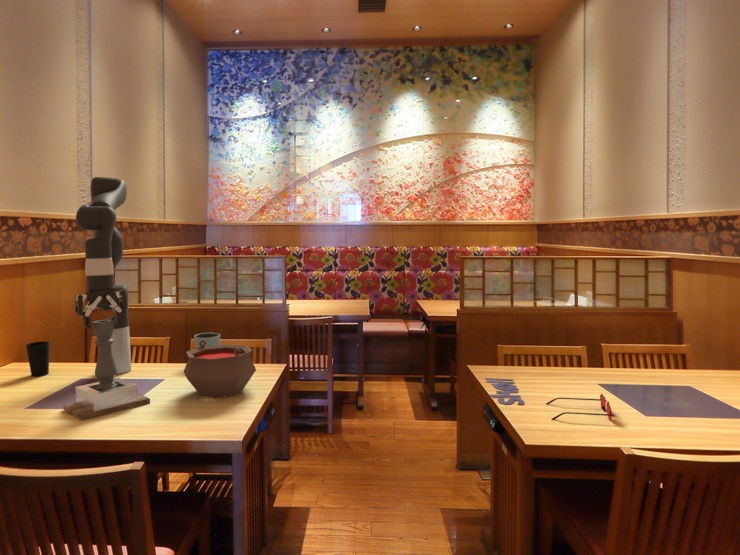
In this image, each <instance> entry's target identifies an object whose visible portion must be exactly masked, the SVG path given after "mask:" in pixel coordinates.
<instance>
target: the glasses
mask: <svg viewBox="0 0 740 555" xmlns="http://www.w3.org/2000/svg"><path fill="white" fill-rule="evenodd" d="M606 398H607V397H606V396H604V394H603V393H601V394H600V396H599V398H579V397H578V398H577V397H576V398H575V397H557V398H554V399H552V400H549V401H548V402H546V403H545V405H550V404H551V403H553V402H555V401H557V400H578V401H579V400H580V401H595V402H596V401H598V402H600V408H601V410H602V411H603V412H604V413H592V412H591V413H589V412H572V411H571V412H570V411H567V412H562V413H559V414H557V415H556V416H554V417H552V418H551V421H555V420H556V419H557V418H559V417H561V416H563V415H565V414H569V415H570V414H571V415H585V416H586V415H588V416H606V417H607V419H608V420H609V421H611V420H612V419H613V418H614V417H616V414H615V413H613V411H612V408H611V404H610V401H607V399H606ZM605 412H607V413H605Z"/></svg>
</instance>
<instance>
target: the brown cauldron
mask: <svg viewBox="0 0 740 555" xmlns="http://www.w3.org/2000/svg"><path fill="white" fill-rule="evenodd" d="M202 342H203V343H204V344H203V345H202V344H201V343H202ZM205 344H206V342H205V341H204V340H203V339H202V340H201V342H200V343H199V345H200V346H201V347H200V348H197V349H196V348H194V349H191V350H187V351H185V353H186V355H187V356H188V359H187V361H186V364H185V366H184V369H183V373H184V376H185V378H186V380H187V381H188V382H189V384H191V386H192V387H193V388H194V389H195V391H196V392H197V394H199V396H200V397H202V396H204V398H211V397H213V399H218V398H217V397H219V398H225V397H224V396H227V397H232V396H231V395H233V396H235V395H237V394H239V393H241V392H243V391H244V389H245V387H246V386H247V384H248V383H249V381H250V380H251V379H252V377H253V375H254V374H255V372H256V371H257V369H256V366H255V364H254V362H253V359H251V356H250V355H251V353H252V352H253V349H252V348H250V347H249V346H248V345H243V344H242V345H240V344H229V343H228V344H227V343H225V344H220V345H214V346H205ZM242 390H243V391H242ZM240 391H241V392H240Z"/></svg>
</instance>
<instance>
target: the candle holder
mask: <svg viewBox="0 0 740 555" xmlns="http://www.w3.org/2000/svg"><path fill="white" fill-rule="evenodd" d="M92 330H93V331H92V333H94V334H93V335H94V336H95V338H96V340H95V341H94V345H96V346H97V359H96V364H95V368H94V369H95V370H94V376H95V378H96V379H97V382H100V383H99V384H98V386H97V390H98V391H102V390H107V389H111V388H116V387H117V384H115V382H114V381H113V380H114V379H115V377H116V376H117V375H118V374H117V369H116V366H115V363H114V359H113V356H112V347H111V345H112V343H113V342H114V340H113V339H111V337H112V334H113V331H114V324H113V320H105V319H99V320H94V321H92Z"/></svg>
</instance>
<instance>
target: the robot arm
mask: <svg viewBox="0 0 740 555" xmlns="http://www.w3.org/2000/svg"><path fill="white" fill-rule="evenodd" d="M127 191H128V189H127V184H126V182H125V180H123V179H122V178H121V179H120V178H117V177H104V176H94V177H93V178H92V179H91V182H90V195H91V201H90V202H87V203H85V204H83V205H81V206H80V207H79V208H78V210H77V211H76V214H75V221H76V224H77V225H78V226H79V227H80V229H83V230H85V231H94V232H93V233H94V237H93V238H92V237H91V238H87V239H85V242H84V250H85V252H84V253H85V265H84V266H85V267H84V268H85V271H84V272H85V285H86V287H85V288H86V294H80V293H79V294H78V293H77V294H75V295H74V299H75V300H74V310H75V311H74V312H75V313H74V314H75V315H78V316H81V317H82V325H83V327H84V328H85V329H87V330H90V329H91V328H92V327H91V325H92V324H91V316H90V315H91V314H92V312H93V311H94V310H95V309H96V308H97V309H99V310H100V311H114V312H113V316H112V315H111V317H108V318H106V319H104V320H113V324H114V331H113V334H112V337H111V339H113V340H114V342H113V343H112V345H111V347H112V356H113V359H114V363H115V366H116V369H117V374H116V375H119V374H124V373H128V372H130V371H132V358H131V357H132V355H131V354H132V353H131V337H130V321H129V292H128V291H129V290H128V286H126V285H124V284H117V285H116V284H115V276H114V275H115V273H114V271H115V269H116V267H117V266H118V264H119V263H120V261H121V260H122V258H123V255H124V248H123V246H124V244H123V242H124V241H123V236H122V235H121V233H120V230H118V229H117V227H116V223H117V222H116V221H117V214H116V209H118V208H119V207H121V206H123V205H124V203H125V202H126V200H127ZM85 300H87V304H86V305H85V308H84V302H85Z"/></svg>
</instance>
